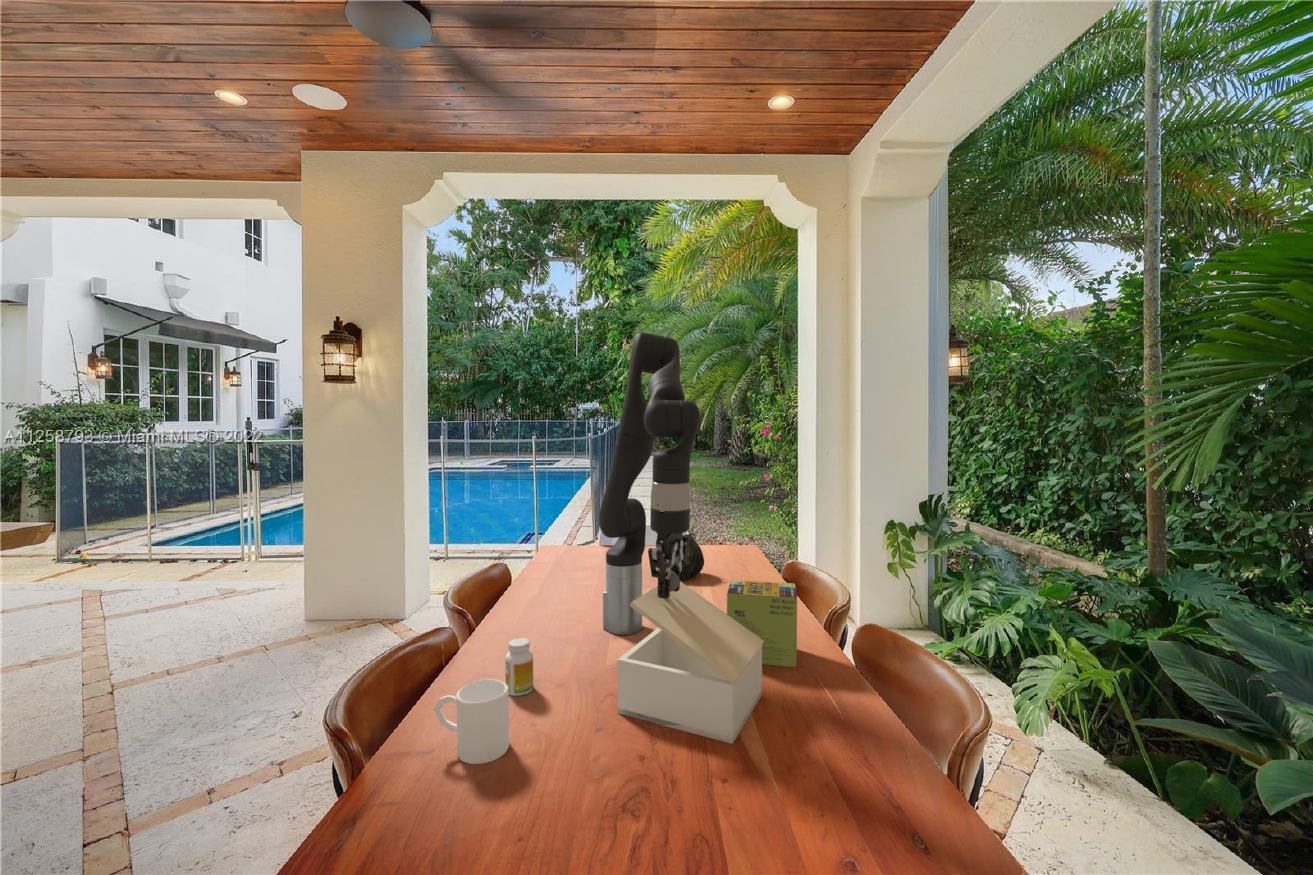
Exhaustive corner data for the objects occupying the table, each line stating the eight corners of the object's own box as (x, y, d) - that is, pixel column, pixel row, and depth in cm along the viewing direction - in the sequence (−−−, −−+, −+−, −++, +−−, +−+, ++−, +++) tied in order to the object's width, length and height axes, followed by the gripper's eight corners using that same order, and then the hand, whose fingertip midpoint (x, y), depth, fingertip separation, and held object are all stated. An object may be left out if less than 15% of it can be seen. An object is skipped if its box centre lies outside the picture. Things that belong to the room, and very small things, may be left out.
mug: (444, 735, 95) (443, 678, 94) (514, 735, 95) (513, 678, 94) (424, 765, 87) (423, 703, 86) (501, 764, 87) (500, 703, 86)
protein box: (797, 668, 120) (797, 597, 119) (726, 662, 123) (726, 592, 122) (795, 648, 130) (795, 582, 129) (729, 643, 133) (729, 579, 132)
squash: (650, 565, 182) (680, 532, 181) (657, 555, 197) (685, 525, 195) (681, 595, 180) (712, 562, 179) (687, 583, 195) (715, 552, 194)
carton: (617, 713, 101) (617, 659, 101) (660, 672, 118) (660, 626, 117) (732, 744, 92) (732, 685, 91) (761, 695, 108) (762, 644, 107)
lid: (629, 605, 100) (643, 578, 98) (671, 579, 116) (683, 555, 114) (732, 684, 91) (749, 656, 90) (762, 644, 107) (776, 620, 106)
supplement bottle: (538, 685, 112) (538, 638, 112) (523, 698, 107) (523, 649, 106) (515, 681, 114) (515, 635, 113) (500, 694, 109) (499, 645, 108)
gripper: (668, 498, 113) (666, 581, 114) (635, 509, 100) (633, 602, 101) (702, 501, 110) (700, 586, 111) (672, 513, 97) (670, 609, 98)
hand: (668, 593), depth 106 cm, fingers closed on lid, 4 cm apart
